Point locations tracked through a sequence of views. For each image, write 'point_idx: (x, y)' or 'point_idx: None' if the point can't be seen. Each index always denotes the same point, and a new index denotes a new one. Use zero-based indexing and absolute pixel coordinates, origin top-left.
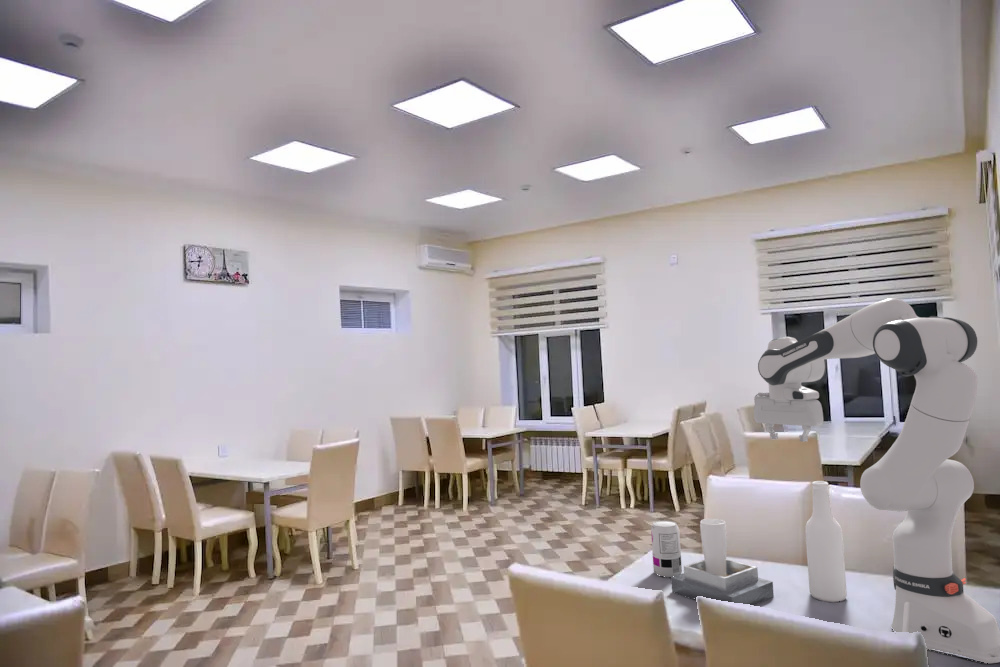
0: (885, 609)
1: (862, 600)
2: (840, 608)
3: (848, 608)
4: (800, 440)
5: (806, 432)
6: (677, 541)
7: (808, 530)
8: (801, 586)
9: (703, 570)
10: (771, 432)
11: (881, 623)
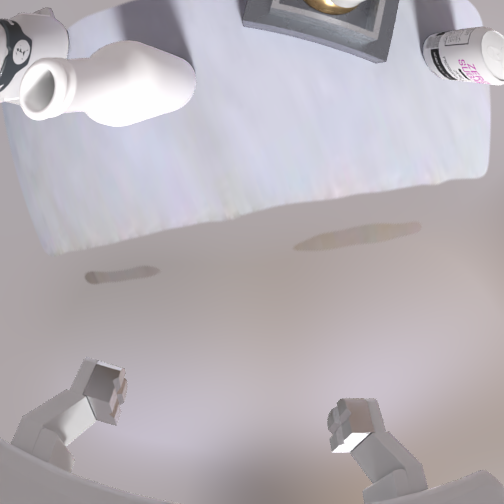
0: None
1: None
2: None
3: None
4: (115, 367)
5: (46, 409)
6: (457, 45)
7: (143, 44)
8: (223, 103)
9: (373, 2)
10: (373, 438)
11: (80, 41)
